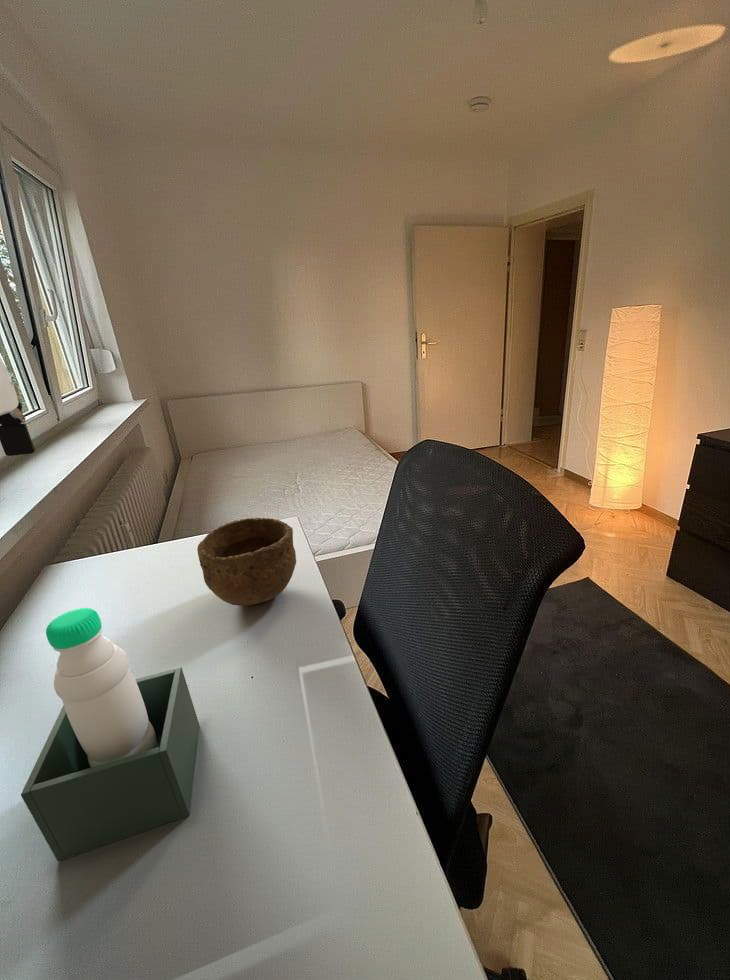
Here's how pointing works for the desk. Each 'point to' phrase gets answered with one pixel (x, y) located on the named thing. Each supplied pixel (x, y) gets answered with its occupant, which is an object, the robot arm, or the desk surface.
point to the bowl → (248, 560)
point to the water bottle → (98, 689)
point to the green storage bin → (117, 776)
